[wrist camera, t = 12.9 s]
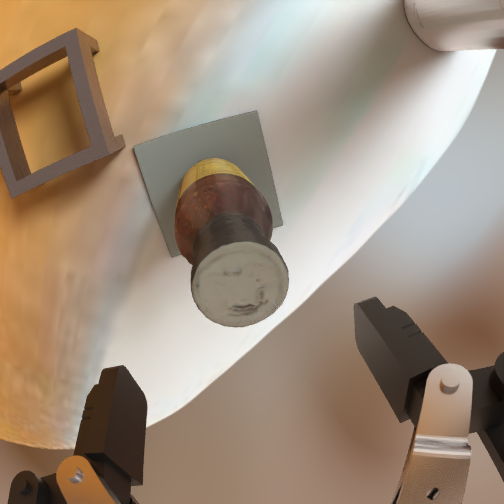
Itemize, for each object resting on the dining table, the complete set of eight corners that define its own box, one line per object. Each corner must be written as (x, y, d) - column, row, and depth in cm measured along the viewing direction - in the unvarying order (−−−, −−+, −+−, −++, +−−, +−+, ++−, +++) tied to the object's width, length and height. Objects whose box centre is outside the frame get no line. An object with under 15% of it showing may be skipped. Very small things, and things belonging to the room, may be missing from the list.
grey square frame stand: (97, 40, 23) (76, 27, 18) (125, 146, 28) (109, 154, 23) (11, 85, 23) (-21, 84, 17) (39, 182, 28) (11, 198, 22)
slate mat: (256, 110, 29) (256, 110, 28) (282, 224, 34) (283, 225, 34) (134, 146, 28) (133, 146, 28) (171, 255, 34) (171, 257, 33)
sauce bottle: (227, 227, 33) (265, 371, 15) (170, 202, 31) (139, 334, 13) (257, 169, 31) (341, 260, 13) (198, 141, 29) (199, 196, 11)
